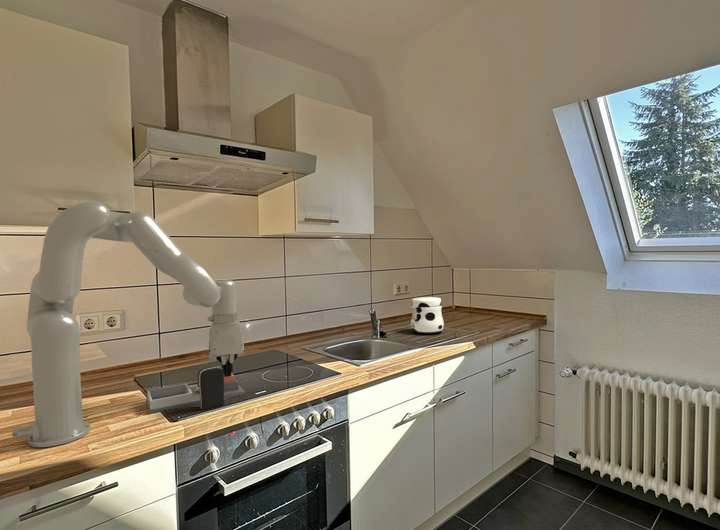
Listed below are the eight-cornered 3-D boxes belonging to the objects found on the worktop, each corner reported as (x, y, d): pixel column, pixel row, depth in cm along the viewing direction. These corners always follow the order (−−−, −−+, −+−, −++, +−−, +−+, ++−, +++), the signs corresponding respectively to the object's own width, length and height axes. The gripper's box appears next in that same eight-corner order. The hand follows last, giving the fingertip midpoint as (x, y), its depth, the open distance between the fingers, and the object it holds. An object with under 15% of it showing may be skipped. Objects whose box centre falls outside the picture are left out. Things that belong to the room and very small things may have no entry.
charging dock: (149, 414, 116) (148, 401, 115) (146, 401, 126) (145, 390, 126) (245, 394, 130) (244, 383, 129) (235, 384, 140) (234, 374, 140)
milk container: (448, 330, 222) (447, 297, 221) (436, 336, 207) (435, 301, 206) (418, 328, 231) (418, 296, 230) (405, 334, 216) (404, 300, 216)
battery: (220, 401, 124) (219, 363, 124) (225, 404, 121) (224, 366, 121) (197, 407, 120) (195, 368, 119) (201, 411, 117) (200, 371, 116)
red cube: (222, 390, 130) (222, 378, 130) (219, 387, 133) (219, 375, 133) (235, 388, 132) (234, 375, 132) (232, 384, 135) (231, 372, 135)
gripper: (202, 323, 125) (205, 383, 126) (251, 317, 133) (254, 373, 133) (198, 320, 131) (201, 377, 132) (244, 314, 139) (247, 368, 140)
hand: (227, 375), depth 133 cm, fingers closed
